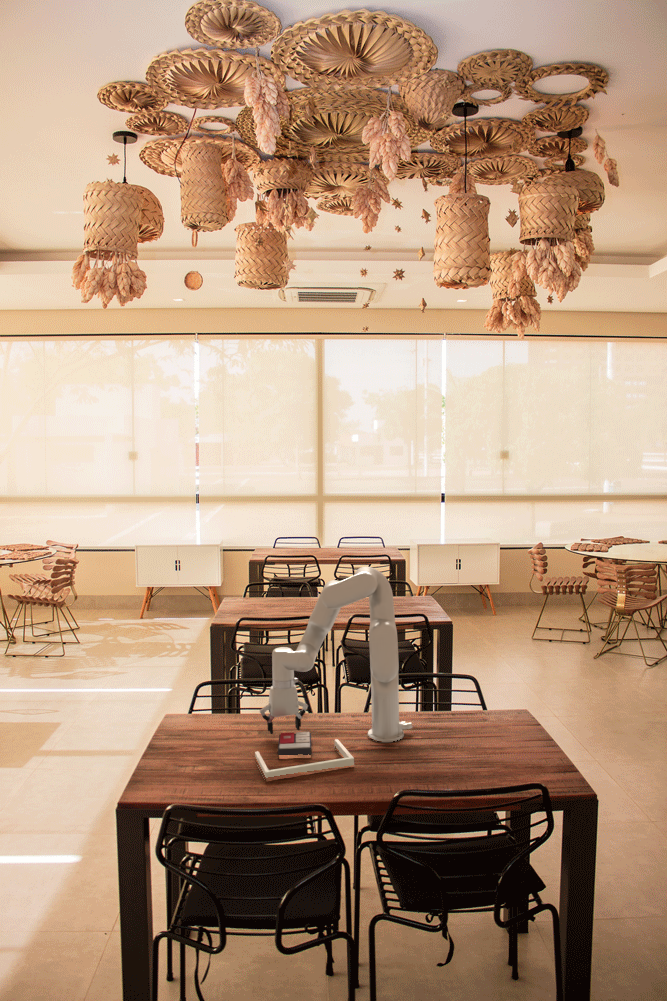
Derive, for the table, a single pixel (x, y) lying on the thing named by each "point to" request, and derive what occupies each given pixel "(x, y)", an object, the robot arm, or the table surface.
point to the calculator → (294, 743)
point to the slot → (342, 762)
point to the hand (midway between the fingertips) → (284, 730)
